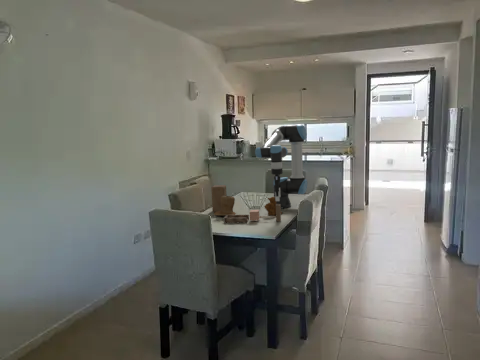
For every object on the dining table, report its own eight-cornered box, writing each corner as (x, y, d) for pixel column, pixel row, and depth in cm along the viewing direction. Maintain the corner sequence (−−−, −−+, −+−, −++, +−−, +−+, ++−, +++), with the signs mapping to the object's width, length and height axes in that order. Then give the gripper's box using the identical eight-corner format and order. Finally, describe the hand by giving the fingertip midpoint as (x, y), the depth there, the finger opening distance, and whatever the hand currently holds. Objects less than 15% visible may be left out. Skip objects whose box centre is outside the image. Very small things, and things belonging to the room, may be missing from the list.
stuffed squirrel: (282, 213, 297) (282, 196, 296) (275, 217, 285) (275, 199, 283) (270, 212, 302) (269, 195, 300) (262, 216, 290) (262, 198, 288)
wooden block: (224, 212, 311) (223, 186, 308) (212, 212, 313) (210, 186, 310) (227, 209, 320) (226, 184, 318) (215, 209, 322) (214, 184, 320)
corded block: (280, 219, 278) (280, 203, 276) (280, 221, 272) (280, 205, 270) (251, 219, 281) (250, 204, 279) (249, 221, 275) (249, 206, 274)
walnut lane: (249, 219, 283) (248, 214, 283) (247, 222, 273) (246, 218, 273) (226, 219, 286) (226, 214, 285) (224, 223, 276) (223, 218, 275)
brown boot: (237, 213, 302) (236, 194, 300) (233, 217, 291) (232, 197, 289) (218, 213, 306) (217, 194, 304) (213, 217, 295) (212, 197, 293)
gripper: (272, 166, 283) (273, 195, 286) (269, 170, 258) (271, 203, 262) (283, 165, 282) (284, 195, 285) (281, 170, 257) (282, 202, 261)
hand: (278, 198), depth 273 cm, fingers open, 13 cm apart
